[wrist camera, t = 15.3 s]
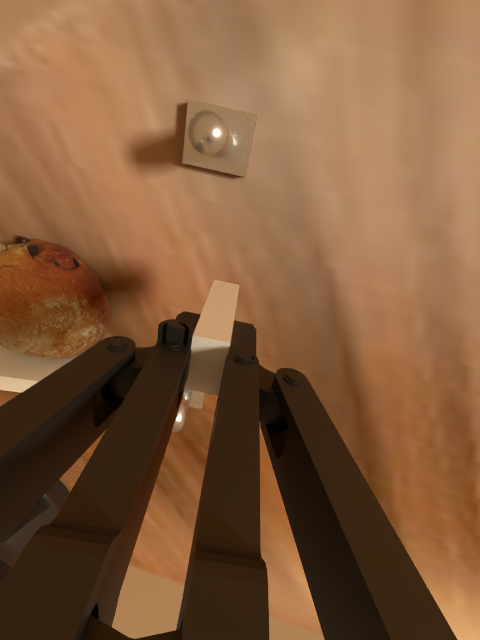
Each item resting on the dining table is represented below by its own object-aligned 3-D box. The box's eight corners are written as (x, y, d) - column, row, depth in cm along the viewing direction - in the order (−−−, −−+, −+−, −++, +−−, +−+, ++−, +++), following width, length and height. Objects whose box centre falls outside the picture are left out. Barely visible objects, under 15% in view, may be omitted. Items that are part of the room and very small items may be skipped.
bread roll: (40, 304, 31) (-4, 371, 26) (-28, 220, 23) (-110, 296, 18) (131, 312, 31) (103, 382, 26) (95, 231, 23) (45, 311, 18)
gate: (174, 376, 28) (159, 411, 24) (5, 353, 28) (-38, 384, 24) (174, 363, 27) (159, 397, 23) (1, 340, 28) (-44, 370, 24)
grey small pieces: (162, 395, 31) (146, 433, 27) (190, 101, 19) (168, 81, 15) (203, 403, 31) (193, 442, 27) (256, 116, 19) (254, 101, 15)
